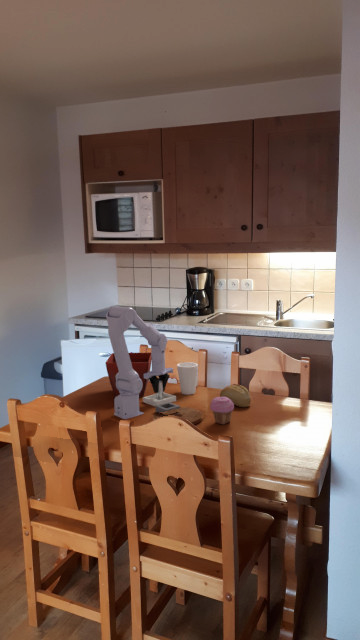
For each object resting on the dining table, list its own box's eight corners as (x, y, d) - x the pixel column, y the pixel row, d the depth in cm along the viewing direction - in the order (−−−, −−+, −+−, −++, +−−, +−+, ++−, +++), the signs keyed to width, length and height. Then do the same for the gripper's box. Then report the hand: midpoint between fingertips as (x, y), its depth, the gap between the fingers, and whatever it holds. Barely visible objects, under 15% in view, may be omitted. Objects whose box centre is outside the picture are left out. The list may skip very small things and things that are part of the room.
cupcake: (224, 428, 188) (224, 402, 186) (206, 423, 193) (205, 397, 192) (238, 421, 194) (238, 396, 193) (220, 416, 200) (219, 392, 199)
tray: (155, 407, 213) (155, 402, 213) (143, 402, 220) (142, 397, 219) (176, 401, 220) (176, 396, 220) (163, 397, 227) (163, 392, 226)
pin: (158, 400, 217) (158, 382, 216) (154, 398, 220) (154, 380, 219) (164, 398, 219) (164, 380, 218) (160, 397, 222) (160, 379, 220)
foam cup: (199, 389, 237) (198, 362, 235) (197, 395, 228) (197, 367, 226) (178, 389, 238) (178, 362, 236) (176, 395, 229) (175, 367, 227)
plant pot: (150, 399, 225) (148, 361, 222) (106, 399, 225) (105, 362, 223) (153, 386, 244) (152, 352, 241) (113, 387, 244) (111, 353, 242)
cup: (166, 417, 201) (166, 409, 201) (155, 412, 207) (155, 405, 206) (180, 412, 206) (179, 405, 205) (169, 408, 211) (168, 401, 211)
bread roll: (229, 397, 224) (229, 379, 223) (256, 404, 214) (256, 386, 212) (214, 402, 218) (214, 384, 217) (242, 410, 207) (241, 391, 206)
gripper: (150, 365, 209) (151, 397, 212) (177, 359, 219) (178, 390, 221) (140, 362, 215) (141, 393, 217) (167, 356, 224) (168, 386, 226)
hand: (159, 391), depth 219 cm, fingers closed on pin, 3 cm apart
